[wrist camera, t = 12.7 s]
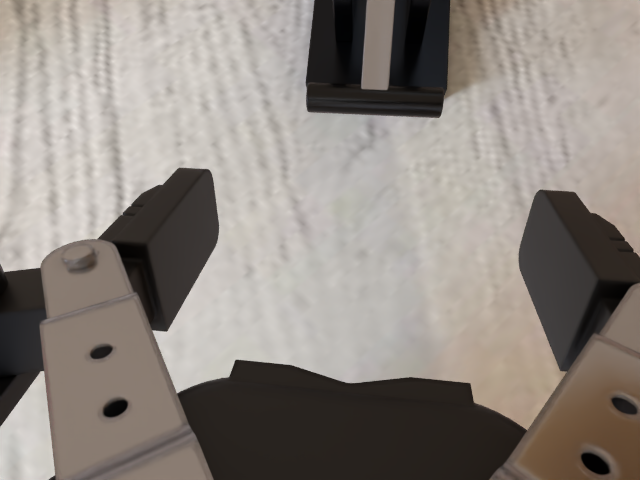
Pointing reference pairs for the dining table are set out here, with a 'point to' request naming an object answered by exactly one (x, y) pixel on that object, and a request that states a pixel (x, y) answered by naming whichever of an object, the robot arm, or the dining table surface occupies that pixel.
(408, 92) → the lever with crossbar handle
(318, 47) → the black lever stand
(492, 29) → the dining table surface
